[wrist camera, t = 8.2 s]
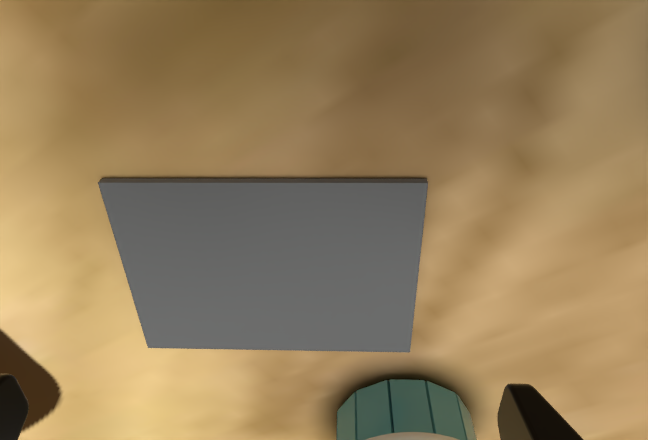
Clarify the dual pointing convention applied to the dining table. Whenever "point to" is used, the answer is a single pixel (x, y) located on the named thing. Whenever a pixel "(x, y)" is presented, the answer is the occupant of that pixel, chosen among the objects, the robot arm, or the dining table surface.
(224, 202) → the mat
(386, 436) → the lid
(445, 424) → the bowl
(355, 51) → the dining table surface
